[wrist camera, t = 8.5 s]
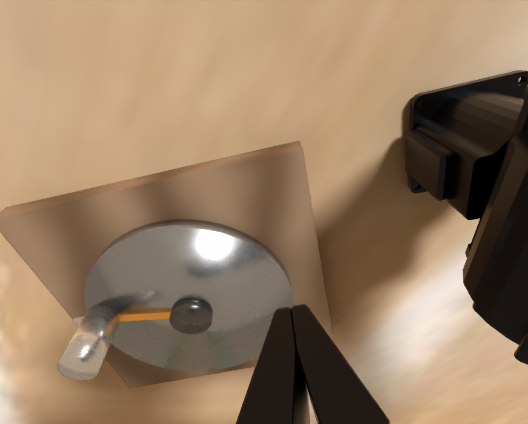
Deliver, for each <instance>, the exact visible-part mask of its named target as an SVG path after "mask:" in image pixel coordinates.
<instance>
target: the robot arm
mask: <svg viewBox="0 0 528 424" xmlns="http://www.w3.org/2000/svg"><path fill="white" fill-rule="evenodd" d="M520 77H521V80H520V82H519V83H517V80H518V79H519V78H520ZM422 99H423V100H424V102H423V104H422V105H421V106H419V107H418V103H419V101H420V100H422ZM405 170H406V171H407V172H408V188H409V189H410V190H411V191H412V192H413V193H421V192H426V191H428V192H429V193H430V194H431V195H432V196H433V197H435V198H436V199H437V200H439V201H440V202H441V201H447V202H448V203H449V204H451V205H452V206H453V207H454V208H455V209H456V210H457V211H458V212H459V213H461V214H462V215H463V216H464V217H465V218H466V219H468V220H474V219H479V218H480V220H479V223H478V226H477V228H476V231H475V234H474V237H473V239H472V242H471V244H468V246H467V249H466V252H465V254H466V257H467V260H466V263H465V265H464V268H463V283H464V285H465V287H466V289H467V291H468V293H469V294H470V296H471V298H472V300H473V301H474V303H473V309H474V310H475V311H476V312H477V313H478V314H479V315H480V316H481V317H482V318H483V319H484V320H485V321H486V322H487V323H488V324H489V325H490V326H491V327H493V328H494V329H496V330H497V331H498V332H500V333H501V334H502V335H504V336H505V337H506V338H508V339H510V340H511V341H513V342H515V343H517V344H518V345H519V346H518V348H517V349H516V351H515V353H514V357H515V358H516V359H517V360H518V361H520V362H522V363H525V364H528V71H523V70H518V71H513V72H509V73H505V74H500V75H496V76H492V77H487V78H483V79H479V80H475V81H470V82H466V83H462V84H457V85H453V86H449V87H445V88H440V89H436V90H432V91H427V92H423V93H419V94H417V95H415V96H414V97H413V99H412V100H411V105H410V131H409V132H408V133H407V135H406V165H405ZM418 183H419V185H418V186H417V187H415V185H416V184H418ZM307 389H308V391H307ZM308 392H309V396H310V400H311V403H312V407H313V410H314V413H315V417H316V420H317V423H318V424H390V421H389V419H388V418H387V416H386V415H385V414H384V412H383V411H382V409H381V408H380V407H379V405H378V404H377V402H376V401H375V400H374V398H373V397H372V395H371V394H370V393H369V391H368V390H367V388H366V387H365V386H364V384H363V383H362V381H361V380H360V379H359V377H358V376H357V374H356V373H355V372H354V370H353V369H352V367H351V366H350V365H349V363H348V362H347V360H346V359H345V358H344V356H343V355H342V353H341V352H340V351H339V349H338V348H337V346H336V345H335V343H334V342H333V341H332V339H331V338H330V336H329V335H328V334H327V332H326V331H325V329H324V328H323V327H322V325H321V324H320V322H319V321H318V320H317V318H316V317H315V315H314V314H313V313H312V311H311V310H310V308H309V307H308V306H307V305H306V304H300V305H295V306H292V308H290V307H284V308H279V309H276V310H275V312H274V315H273V318H272V321H271V324H270V326H269V329H268V332H267V335H266V338H265V341H264V344H263V347H262V349H261V352H260V355H259V358H258V361H257V364H256V367H255V370H254V373H253V375H252V378H251V381H250V384H249V387H248V390H247V393H246V396H245V399H244V401H243V404H242V407H241V410H240V413H239V416H238V419H237V422H236V424H310V416H309V401H308Z"/></svg>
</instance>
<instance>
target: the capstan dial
mask: <svg viewBox="0 0 528 424" xmlns="http://www.w3.org/2000/svg"><path fill="white" fill-rule="evenodd" d="M84 300H85V306H86V310H87V312H86V314H85V316H84V318H83V319H82V321H81V323H80V325H79V327H78V328H77V330H76V332H75V334H74V336H73V337H72V339H71V341H70V343H69V345H68V346H67V348H66V350H65V352H64V354H63V355H62V357H61V359H60V361H59V362H58V364H57V369H58V371H59V372H60V373H61V374H62V375H64V376H66V377H68V378H71V379H75V380H89V379H92V378H94V377H96V376H97V374H98V372H99V370H100V368H101V365H102V363H103V361H104V358H105V356H106V354H107V351H108V349H109V347H110V344H112V345H114V346H115V347H116V348H118V349H119V350H121V351H122V352H124V353H126V354H127V355H129V356H132V357H134V358H136V359H138V360H140V361H143V362H146V363H148V364H152V365H155V366H159V367H163V368H168V369H174V370H182V371H210V370H219V369H224V368H229V367H233V366H236V365H240V364H242V363H245V362H248V361H250V360H252V359H254V358H256V357H258V356H259V355H260V352H261V349H262V347H263V344H264V341H265V338H266V335H267V332H268V329H269V326H270V324H271V321H272V318H273V315H274V312H275V310H276V309H279V308H284V307H290V308H292V306H294V304H293V294H292V288H291V283H290V280H289V276H288V274H287V272H286V270H285V268H284V266H283V265H282V263H281V262H280V260H279V259H278V258H277V257H276V256H275V255H274V254H273V252H272V251H271V250H270V249H268V248H267V247H266V246H265V245H263V244H262V243H261V242H260V241H258V240H256V239H255V238H253V237H252V236H250V235H248V234H246V233H244V232H242V231H239V230H237V229H235V228H232V227H229V226H226V225H223V224H218V223H214V222H209V221H202V220H193V219H175V220H166V221H159V222H155V223H150V224H146V225H144V226H141V227H138V228H135V229H133V230H131V231H129V232H127V233H125V234H123V235H121V236H120V237H119V238H117V239H116V240H114V241H113V242H112V243H111V244H110V245H109V246H108V247H107V248H106V249H105V250H104V251H103V252H102V253H101V255H100V256H99V258H98V259H97V261H96V262H95V264H94V265H93V267H92V269H91V270H90V273H89V275H88V277H87V279H86V284H85V289H84Z"/></svg>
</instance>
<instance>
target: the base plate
mask: <svg viewBox="0 0 528 424" xmlns="http://www.w3.org/2000/svg"><path fill="white" fill-rule="evenodd" d="M175 219H193V220H202V221H209V222H214V223H218V224H223V225H226V226H229V227H232V228H235V229H237V230H239V231H242V232H244V233H246V234H248V235H250V236H252V237H253V238H255V239H256V240H258V241H260V242H261V243H262V244H263V245H265V246H266V247H267V248H268V249H270V250H271V251H272V252H273V254H274V255H275V256H276V257H277V258H278V259H279V260H280V262H281V263H282V265H283V266H284V268H285V270H286V272H287V274H288V276H289V280H290V283H291V288H292V294H293V304H294V306H295V305H300V304H306V305H307V306H308V307H309V308H310V310H311V311H312V313H313V314H314V315H315V317H316V318H317V320H318V321H319V322H320V324H321V325H322V327H323V328H324V329H325V331H326V332H327V334H328V335H329V336H330V338H331V339H332V341H333V342H334V340H333V334H332V327H331V321H330V315H329V309H328V303H327V296H326V290H325V284H324V278H323V272H322V265H321V259H320V253H319V247H318V241H317V234H316V228H315V222H314V216H313V210H312V203H311V197H310V191H309V185H308V179H307V172H306V166H305V160H304V154H303V149H302V146H301V144H300V142H299V141H296V142H292V143H287V144H283V145H279V146H274V147H270V148H265V149H261V150H257V151H252V152H248V153H244V154H239V155H235V156H230V157H226V158H222V159H217V160H213V161H209V162H204V163H200V164H195V165H191V166H187V167H182V168H178V169H174V170H169V171H165V172H160V173H156V174H152V175H147V176H143V177H138V178H134V179H130V180H125V181H121V182H117V183H112V184H108V185H103V186H99V187H95V188H90V189H86V190H82V191H77V192H73V193H68V194H64V195H60V196H55V197H51V198H46V199H42V200H38V201H33V202H29V203H25V204H20V205H16V206H11V207H7V208H5V209H4V210H2V211H1V212H0V232H1V234H2V235H3V236H4V237H5V238H6V240H7V241H8V242H9V243H10V244H11V246H12V247H13V248H14V249H15V250H16V252H17V253H18V254H19V255H20V256H21V258H22V259H23V260H24V261H25V262H26V264H27V265H28V266H29V267H30V268H31V270H32V271H33V272H34V273H35V275H36V276H37V277H38V278H39V279H40V281H41V282H42V283H43V284H44V285H45V287H46V288H47V289H48V290H49V291H50V293H51V294H52V295H53V296H54V297H55V299H56V300H57V301H58V302H59V303H60V305H61V306H62V307H63V308H64V309H65V311H66V312H67V313H68V314H69V315H70V317H71V318H72V319H73V320H74V322H75V323H76V324H77V325H78V326H79V325H80V323H81V321H82V319H83V318H84V316H85V314H86V312H87V310H86V306H85V300H84V289H85V284H86V279H87V277H88V275H89V273H90V270H91V269H92V267H93V265H94V264H95V262H96V261H97V259H98V258H99V256H100V255H101V253H102V252H103V251H104V250H105V249H106V248H107V247H108V246H109V245H110V244H111V243H112V242H113V241H114V240H116V239H117V238H119V237H120V236H121V235H123V234H125V233H127V232H129V231H131V230H133V229H135V228H138V227H141V226H144V225H146V224H150V223H155V222H159V221H166V220H175ZM258 358H259V356H258V357H256V358H254V359H252V360H250V361H248V362H245V363H242V364H240V365H236V366H233V367H229V368H224V369H219V370H210V371H182V370H174V369H168V368H163V367H159V366H155V365H152V364H148V363H146V362H143V361H140V360H138V359H136V358H134V357H132V356H129V355H127V354H126V353H124V352H122V351H121V350H119V349H118V348H116V347H115V346H114V345H112V344H110V347H109V349H108V351H107V354H106V356H105V359H106V360H107V361H108V362H109V363H110V365H111V366H112V367H113V368H114V369H115V371H116V372H117V373H118V374H119V375H120V377H121V378H122V379H123V380H124V381H125V383H126V384H127V385H128V386H129V387H130V388H134V387H140V386H146V385H152V384H157V383H163V382H169V381H175V380H180V379H186V378H192V377H197V376H203V375H209V374H215V373H220V372H226V371H232V370H238V369H243V368H249V367H255V366H256V364H257V361H258Z"/></svg>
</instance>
